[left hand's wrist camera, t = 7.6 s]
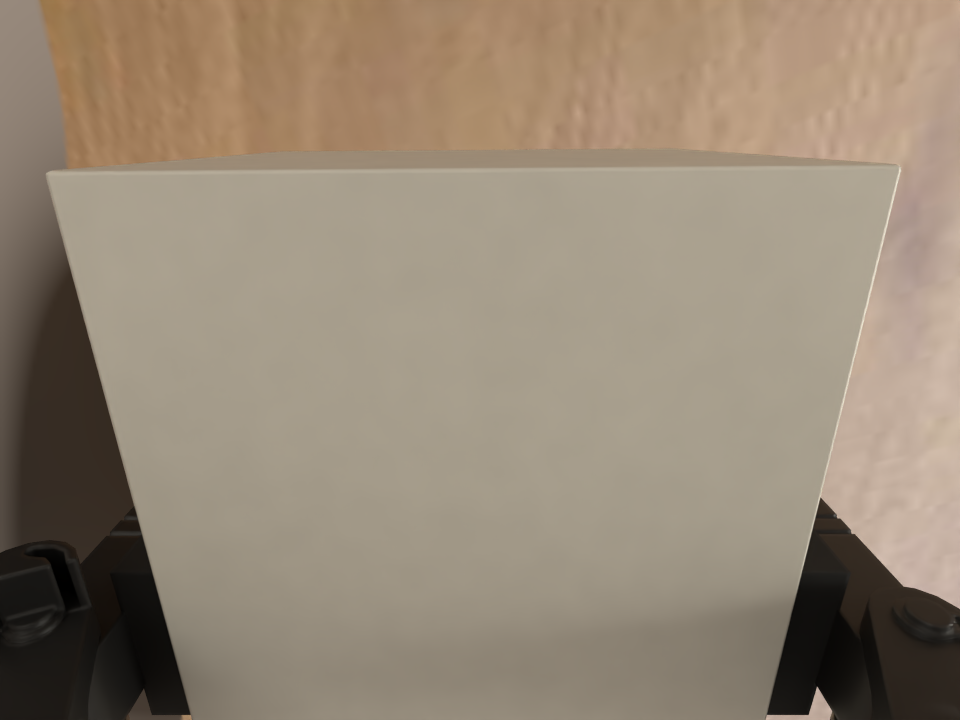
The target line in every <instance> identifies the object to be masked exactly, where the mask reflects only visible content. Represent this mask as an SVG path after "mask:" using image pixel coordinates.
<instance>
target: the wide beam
mask: <svg viewBox="0 0 960 720" xmlns="http://www.w3.org/2000/svg"><path fill="white" fill-rule="evenodd" d="M900 172H901V167H900V166H898V165H896V164H884V163H870V162H856V161H842V160H827V159H813V158H799V157H785V156H771V155H757V154H742V153H728V152H714V151H700V150H686V149H547V150H417V151H287V152H271V153H259V154H247V155H235V156H223V157H210V158H198V159H186V160H174V161H162V162H150V163H138V164H126V165H114V166H102V167H89V168H77V169H65V170H53V171H49V172H47V173H46V179H47V183H48V186H49V190H50V194H51V197H52V201H53V205H54V209H55V212H56V216H57V220H58V224H59V227H60V231H61V235H62V238H63V242H64V246H65V250H66V253H67V257H68V261H69V264H70V268H71V272H72V276H73V279H74V283H75V287H76V290H77V294H78V298H79V302H80V305H81V309H82V313H83V316H84V320H85V324H86V327H87V331H88V335H89V339H90V342H91V346H92V350H93V353H94V357H95V361H96V365H97V368H98V372H99V376H100V379H101V383H102V387H103V391H104V394H105V398H106V402H107V405H108V409H109V413H110V417H111V420H112V424H113V428H114V432H115V435H116V439H117V443H118V446H119V450H120V454H121V457H122V461H123V465H124V468H125V472H126V476H127V480H128V483H129V487H130V491H131V495H132V498H133V502H134V506H135V509H136V513H137V517H138V521H139V524H140V528H141V532H142V535H143V539H144V543H145V547H146V550H147V554H148V558H149V561H150V565H151V569H152V573H153V576H154V580H155V584H156V587H157V591H158V595H159V599H160V602H161V606H162V610H163V613H164V617H165V621H166V625H167V628H168V632H169V636H170V639H171V643H172V647H173V651H174V654H175V658H176V662H177V665H178V669H179V673H180V677H181V680H182V684H183V688H184V691H185V695H186V699H187V703H188V706H189V710H190V714H191V717H192V720H766V716H767V712H768V708H769V703H770V699H771V695H772V691H773V687H774V683H775V679H776V675H777V671H778V667H779V663H780V659H781V655H782V651H783V647H784V643H785V639H786V634H787V630H788V626H789V622H790V618H791V614H792V610H793V606H794V602H795V598H796V594H797V590H798V586H799V582H800V578H801V574H802V570H803V566H804V561H805V557H806V553H807V549H808V545H809V541H810V537H811V533H812V529H813V525H814V521H815V517H816V513H817V509H818V505H819V501H820V497H821V493H822V488H823V484H824V480H825V476H826V472H827V468H828V464H829V460H830V456H831V452H832V448H833V444H834V440H835V436H836V432H837V428H838V424H839V420H840V415H841V411H842V407H843V403H844V399H845V395H846V391H847V387H848V383H849V379H850V375H851V371H852V367H853V363H854V359H855V355H856V351H857V346H858V342H859V338H860V334H861V330H862V326H863V322H864V318H865V314H866V310H867V306H868V302H869V298H870V294H871V290H872V286H873V282H874V278H875V273H876V269H877V265H878V261H879V257H880V253H881V249H882V245H883V241H884V237H885V233H886V229H887V225H888V221H889V217H890V213H891V209H892V205H893V200H894V196H895V192H896V188H897V184H898V180H899V176H900Z"/></svg>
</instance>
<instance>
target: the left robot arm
mask: <svg viewBox="0 0 960 720" xmlns="http://www.w3.org/2000/svg"><path fill="white" fill-rule="evenodd" d="M817 687H818V688H819V690H820V692H821V693H822V695H823V696H824V698H825V700H826V701H827V703H828V705H829V706H830V708H831V710H832V715H831V718H830V720H960V609H959V608H957V607H955V606H953V605H952V604H950V603H948V602H946V601H944V600H943V599H941V598H939V597H937V596H935V595H932V594H929V593H926V592H923V591H921V590H918V589H915V588H908V587H903V586H902V585H901V584H900V582H899V581H898V580H897V579H896V578H895V577H894V576H893V575H892V574H891V573H890V572H889V571H888V570H887V568H886V567H885V566H884V565H883V564H882V563H881V562H880V561H879V560H878V559H877V558H876V557H875V556H874V554H873V553H872V552H871V551H870V550H869V549H868V548H867V547H866V546H865V545H864V544H863V543H862V542H861V540H860V539H859V538H858V537H857V536H856V535H855V534H851V530H850V529H849V528H848V526H847V525H846V524H845V523H844V522H843V521H842V520H841V519H837V515H836V514H835V512H834V511H833V510H832V509H831V508H830V507H829V506H828V505H827V504H826V503H825V502H824V501H823V500H822V498H821V497H820V501H819V505H818V509H817V513H816V517H815V521H814V525H813V529H812V533H811V537H810V541H809V545H808V549H807V553H806V557H805V561H804V566H803V570H802V574H801V578H800V582H799V586H798V590H797V594H796V598H795V602H794V606H793V610H792V614H791V618H790V622H789V626H788V630H787V634H786V639H785V643H784V647H783V651H782V655H781V659H780V663H779V667H778V671H777V675H776V679H775V683H774V687H773V691H772V695H771V699H770V703H769V708H768V712H767V715H809V711H810V708H811V705H812V701H813V698H814V695H815V691H816V688H817ZM143 689H144V690H145V693H146V696H147V699H148V703H149V706H150V710H151V713H152V715H191V714H190V710H189V706H188V703H187V699H186V695H185V691H184V688H183V684H182V680H181V677H180V673H179V669H178V665H177V662H176V658H175V654H174V651H173V647H172V643H171V639H170V636H169V632H168V628H167V625H166V621H165V617H164V613H163V610H162V606H161V602H160V599H159V595H158V591H157V587H156V584H155V580H154V576H153V573H152V569H151V565H150V561H149V558H148V554H147V550H146V547H145V543H144V539H143V535H142V532H141V528H140V524H139V521H138V517H137V513H136V509H135V506H134V507H133V508H132V509H131V510H130V511H129V512H128V513H127V515H126V516H125V517H124V520H122V521H120V522H119V523H118V524H117V525H116V526H115V528H114V529H113V530H112V531H111V532H110V536H106V537H105V538H104V539H103V541H102V542H101V543H100V544H99V545H98V546H97V547H96V548H95V549H94V550H93V551H92V552H91V553H90V555H89V556H88V557H87V558H86V559H85V560H84V561H83V562H82V563H81V564H80V562H79V559H78V556H77V553H76V550H75V548H74V547H72V546H71V545H69V544H68V543H66V542H61V541H52V540H48V541H41V542H33V543H27V544H24V545H21V546H18V547H15V548H12V549H9V550H6V551H4V552H1V553H0V720H130V718H129V715H128V714H129V712H130V710H131V709H132V707H133V705H134V704H135V702H136V700H137V699H138V697H139V695H140V694H141V692H142V690H143Z"/></svg>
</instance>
